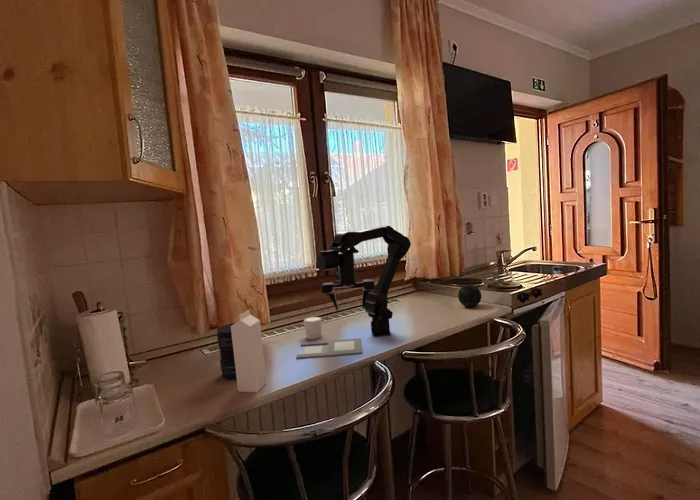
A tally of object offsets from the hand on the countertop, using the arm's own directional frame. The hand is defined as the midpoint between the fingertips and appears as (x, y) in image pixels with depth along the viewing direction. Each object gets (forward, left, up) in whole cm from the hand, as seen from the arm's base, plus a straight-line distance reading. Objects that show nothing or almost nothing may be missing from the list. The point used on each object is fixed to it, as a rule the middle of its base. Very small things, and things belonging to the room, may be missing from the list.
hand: (350, 309), depth 149 cm
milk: (+29, +33, -12) cm, 46 cm away
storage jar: (+36, +22, -12) cm, 44 cm away
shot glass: (+15, -10, -12) cm, 22 cm away
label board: (+8, +5, -12) cm, 15 cm away
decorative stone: (-53, -35, -12) cm, 65 cm away
